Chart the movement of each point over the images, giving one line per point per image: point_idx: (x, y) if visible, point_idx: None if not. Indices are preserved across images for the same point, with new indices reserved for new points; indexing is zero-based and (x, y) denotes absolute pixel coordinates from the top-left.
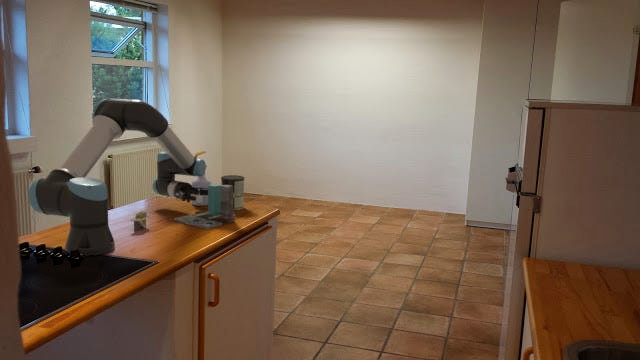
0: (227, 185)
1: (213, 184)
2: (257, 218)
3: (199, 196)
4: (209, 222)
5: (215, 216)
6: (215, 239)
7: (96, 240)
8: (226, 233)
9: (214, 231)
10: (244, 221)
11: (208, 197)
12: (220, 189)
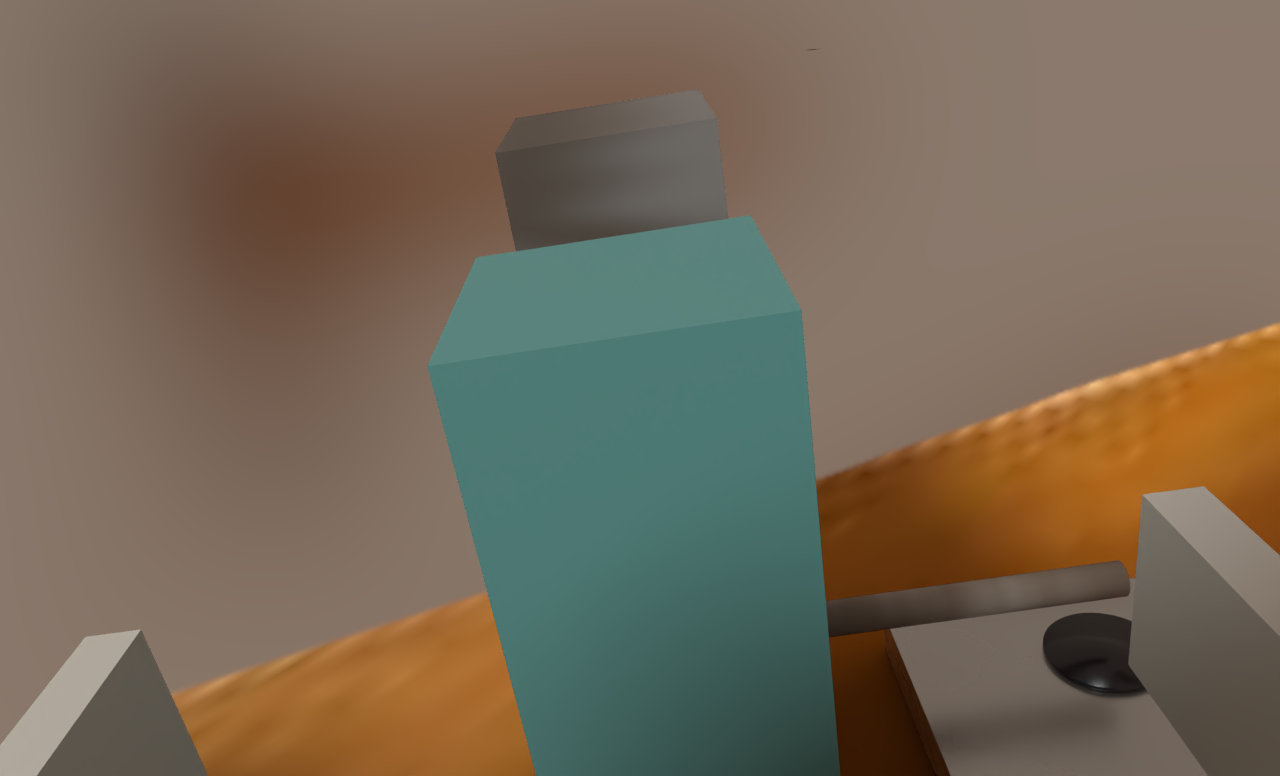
0: (567, 127)
1: (513, 345)
2: (237, 690)
3: (1262, 552)
4: (1083, 675)
5: (969, 581)
6: (1209, 371)
7: None
8: (1017, 440)
9: (1118, 518)
10: (488, 663)
11: (832, 701)
12: (726, 209)
